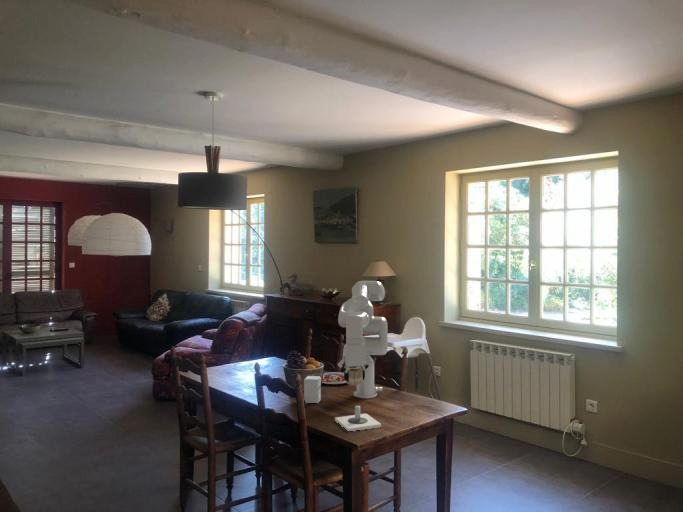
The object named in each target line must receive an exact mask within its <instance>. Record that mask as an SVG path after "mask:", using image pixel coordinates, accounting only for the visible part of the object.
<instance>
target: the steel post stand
mask: <svg viewBox="0 0 683 512" xmlns="http://www.w3.org/2000/svg"><path fill="white" fill-rule="evenodd" d="M334 421H335V422H336V423H337V424H338V423H339V424H340V425H341V426H340V425H339V424H338V425H339V426H340V427H342V428H343V427H344V428H345V429H346V430H347V431H353V432H357V431H356V430H360V431H366V430H365V429H367V430H373V428H374V429H380V427H381V428H382V423H380V422H379V421H377V420H376V418H375V419H374V418H373V417H372V416H371V415H370V414H368V413H361V405H355V406H354V414H353V415H351V414H350V415H344V416H338V417H337V416H336V417H334ZM344 428H343V429H344ZM345 429H344V430H345ZM346 430H345V431H346ZM347 431H346V432H347Z"/></svg>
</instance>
